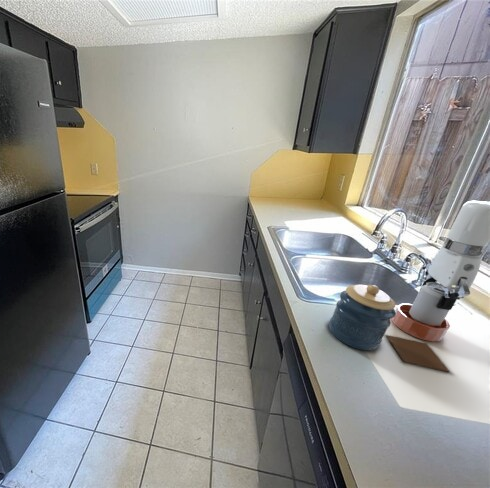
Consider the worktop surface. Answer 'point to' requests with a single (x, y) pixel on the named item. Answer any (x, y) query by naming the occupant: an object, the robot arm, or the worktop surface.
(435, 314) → the can
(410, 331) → the bowl
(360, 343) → the canister
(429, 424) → the worktop surface
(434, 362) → the mat
